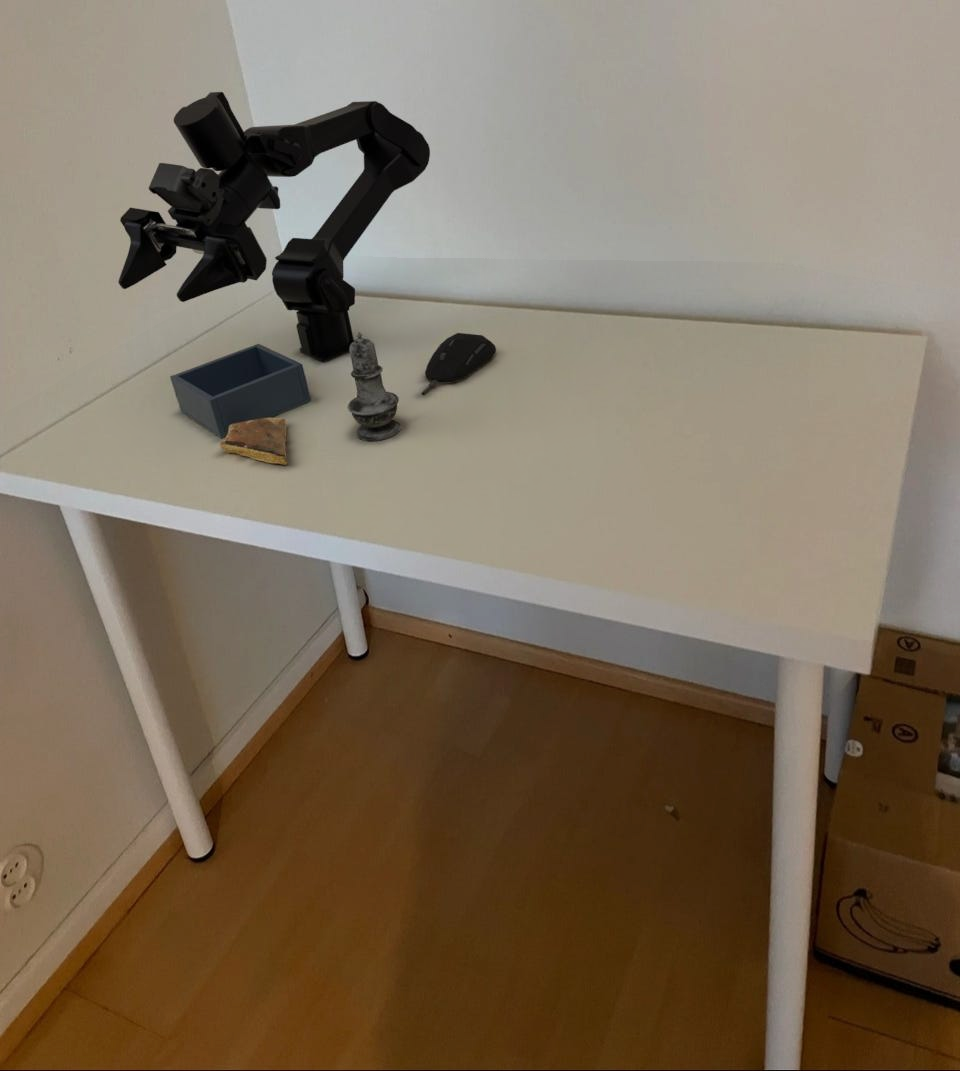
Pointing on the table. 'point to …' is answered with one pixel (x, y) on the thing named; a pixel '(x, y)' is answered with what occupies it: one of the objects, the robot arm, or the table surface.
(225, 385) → the bin
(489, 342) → the gaming mouse
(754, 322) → the table surface
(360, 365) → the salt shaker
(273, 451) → the shard
